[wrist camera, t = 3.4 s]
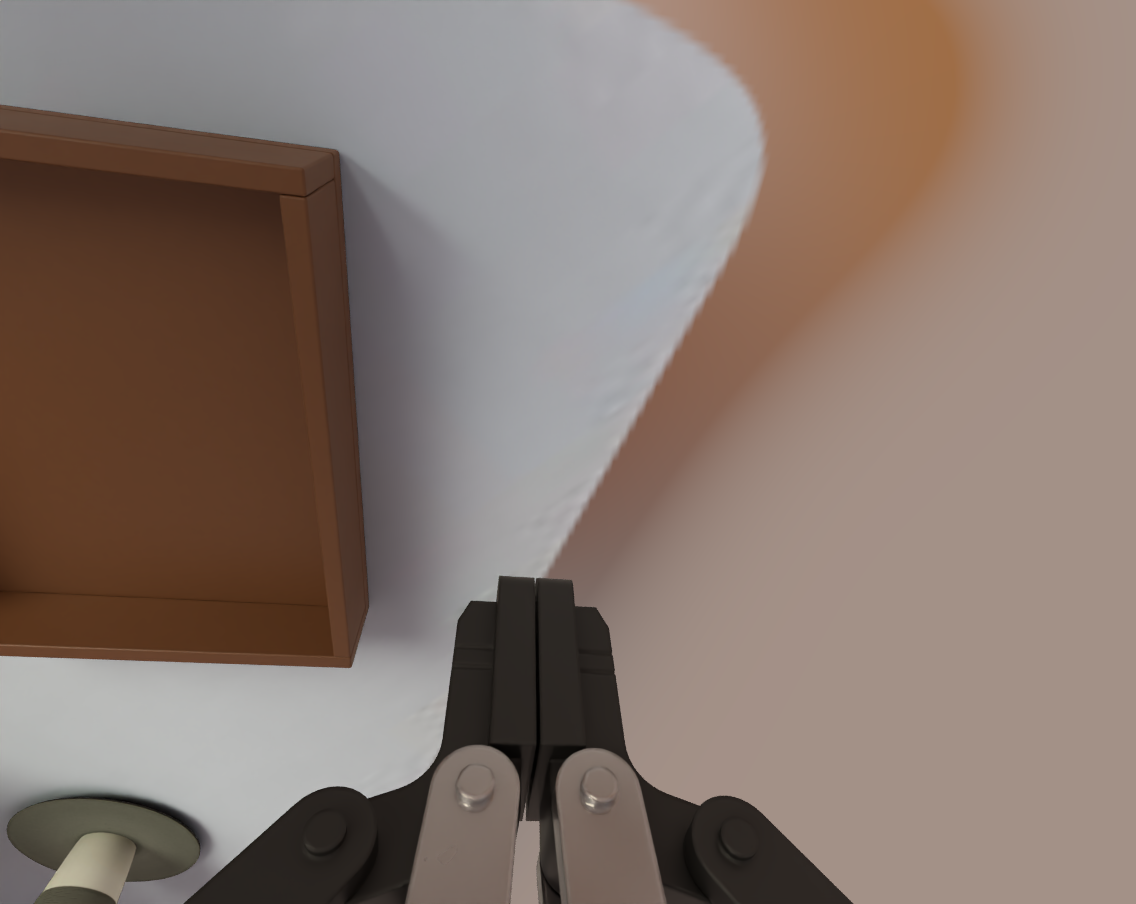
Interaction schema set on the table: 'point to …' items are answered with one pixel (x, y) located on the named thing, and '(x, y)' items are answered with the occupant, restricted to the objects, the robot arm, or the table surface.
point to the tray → (175, 398)
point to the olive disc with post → (100, 847)
